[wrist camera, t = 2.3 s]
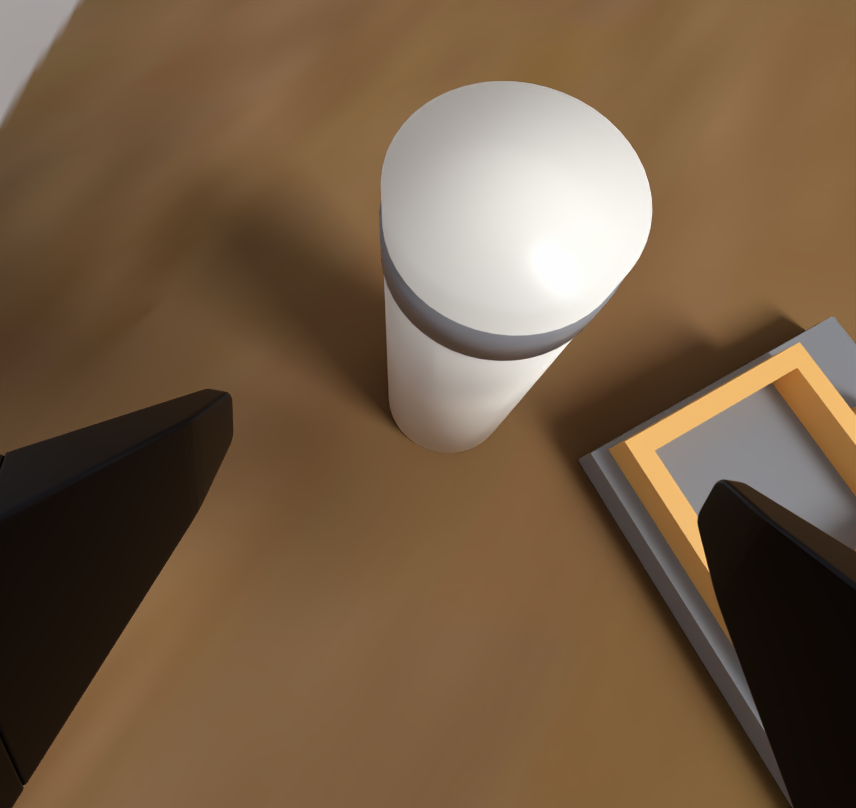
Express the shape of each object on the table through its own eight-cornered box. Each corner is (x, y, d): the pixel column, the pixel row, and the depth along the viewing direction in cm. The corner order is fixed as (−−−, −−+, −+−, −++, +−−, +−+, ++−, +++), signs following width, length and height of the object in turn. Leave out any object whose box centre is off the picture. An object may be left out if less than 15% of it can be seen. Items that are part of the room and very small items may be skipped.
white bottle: (423, 476, 21) (466, 366, 8) (366, 371, 22) (329, 134, 9) (528, 419, 22) (709, 245, 9) (469, 321, 23) (559, 46, 10)
